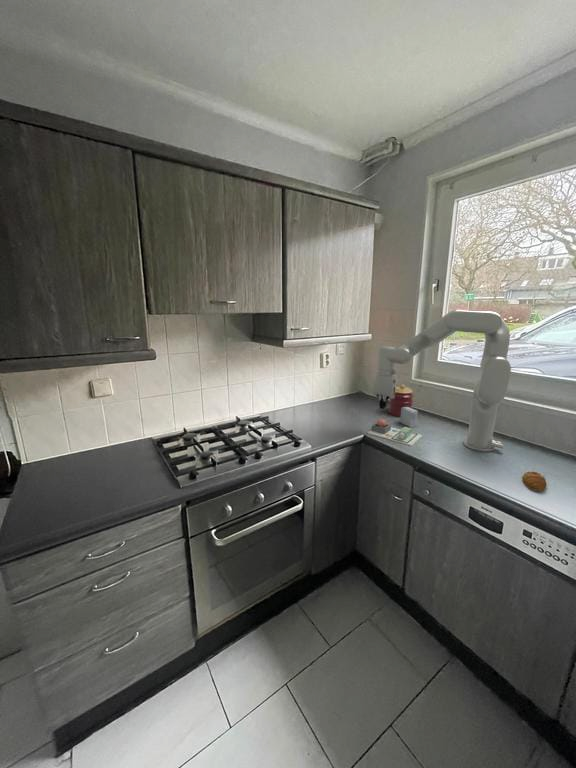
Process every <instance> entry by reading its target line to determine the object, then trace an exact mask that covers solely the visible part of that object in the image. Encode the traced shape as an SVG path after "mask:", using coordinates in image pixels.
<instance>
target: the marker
mask: <svg viewBox="0 0 576 768" xmlns="http://www.w3.org/2000/svg"><path fill="white" fill-rule="evenodd" d="M412 428H413V427H409V426H404V427H402V428H401V429H400V431H399V434H398V437H399V438H400V439H407V438H408V437H409V436H410V435H411V433H412V430H413V429H412Z"/></svg>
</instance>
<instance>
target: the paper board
mask: <svg viewBox="0 0 576 768" xmlns="http://www.w3.org/2000/svg"><path fill="white" fill-rule="evenodd" d="M400 430H401V429H399V428H395V427H392V424H389V423H386V427H385V428H383V427H379V426H377V422H375V423H373V424H372V425H371V430H369V431H367V433H368V434H367V435H370V436H374V437H378V438H381V439H386V440H387V441H388V440H389V441H392V442H396V443H399V444H402V445H407V446H410V447H413V445H414V444H416V442H418V441H419V440H420V439H421V438H422V437H423V435H422V434H418V433H414V432H411V435H410V436H409V437H408V438H407V439H400V438H399V437H398V434H399V431H400Z"/></svg>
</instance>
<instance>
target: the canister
mask: <svg viewBox="0 0 576 768" xmlns="http://www.w3.org/2000/svg"><path fill="white" fill-rule="evenodd" d="M414 396H415V395H414V393H413V389H411V388H410V387H407V386H406V385H405V384H403V383H402V384H400V386H396V393H395V394H394V397H395V398H393V399H389V406H388V412H389V414H390V415H392V416H395V417H400V418H401V408H403V407H409V408H412V409H413V404H414V399H413V397H414Z"/></svg>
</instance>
